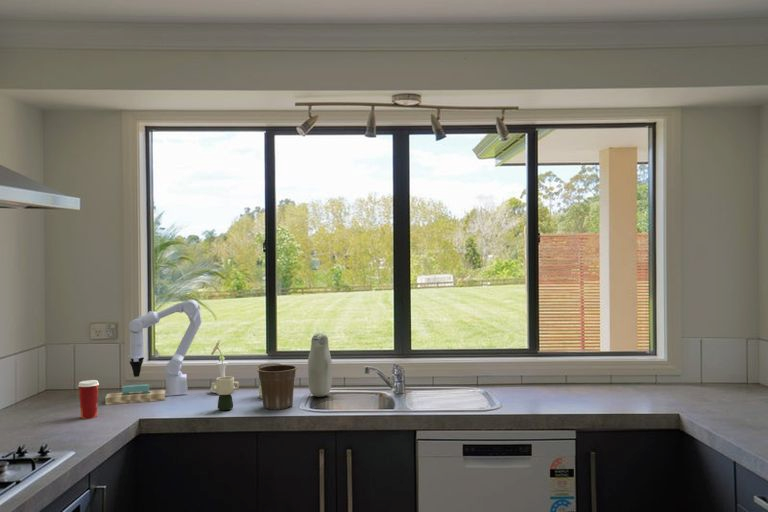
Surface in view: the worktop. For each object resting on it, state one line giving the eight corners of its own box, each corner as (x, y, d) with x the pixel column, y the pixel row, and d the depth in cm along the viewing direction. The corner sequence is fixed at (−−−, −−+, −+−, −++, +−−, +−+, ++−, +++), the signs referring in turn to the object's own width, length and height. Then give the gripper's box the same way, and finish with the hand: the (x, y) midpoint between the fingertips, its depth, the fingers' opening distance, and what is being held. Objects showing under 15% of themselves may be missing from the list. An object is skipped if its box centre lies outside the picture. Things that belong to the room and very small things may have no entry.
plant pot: (261, 412, 258) (261, 372, 258) (254, 404, 273) (253, 366, 273) (301, 408, 264) (300, 369, 264) (292, 400, 279) (291, 363, 279)
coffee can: (269, 393, 296) (269, 362, 296) (286, 395, 290) (286, 364, 290) (253, 397, 287) (253, 365, 287) (271, 399, 281) (270, 367, 281)
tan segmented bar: (164, 396, 292) (164, 389, 292) (164, 400, 284) (164, 393, 284) (107, 400, 285) (107, 393, 285) (105, 404, 276) (105, 397, 276)
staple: (149, 398, 287) (149, 384, 287) (149, 400, 284) (148, 385, 284) (122, 400, 284) (122, 385, 284) (122, 402, 281) (122, 387, 281)
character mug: (239, 407, 269) (238, 375, 269) (238, 410, 262) (238, 378, 262) (212, 408, 266) (211, 377, 266) (211, 412, 259) (210, 380, 259)
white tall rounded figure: (304, 397, 286) (303, 334, 286) (319, 393, 294) (318, 331, 295) (321, 399, 280) (320, 335, 281) (336, 395, 289) (335, 333, 289)
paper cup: (104, 415, 256) (103, 380, 256) (87, 420, 249) (87, 384, 250) (90, 414, 260) (89, 379, 260) (73, 418, 253) (73, 382, 253)
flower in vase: (215, 389, 305) (215, 337, 305) (238, 390, 303) (238, 337, 303) (204, 395, 292) (203, 340, 292) (228, 396, 290) (227, 340, 290)
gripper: (128, 343, 299) (128, 373, 299) (126, 347, 286) (126, 378, 286) (144, 343, 302) (144, 372, 302) (143, 347, 288) (143, 377, 288)
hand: (137, 375), depth 294 cm, fingers open, 7 cm apart
